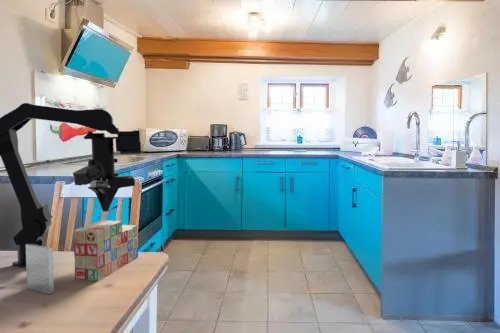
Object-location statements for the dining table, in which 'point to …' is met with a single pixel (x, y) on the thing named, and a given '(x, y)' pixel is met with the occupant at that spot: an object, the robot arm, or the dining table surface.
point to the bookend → (39, 268)
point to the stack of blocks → (103, 249)
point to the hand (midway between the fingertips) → (105, 211)
